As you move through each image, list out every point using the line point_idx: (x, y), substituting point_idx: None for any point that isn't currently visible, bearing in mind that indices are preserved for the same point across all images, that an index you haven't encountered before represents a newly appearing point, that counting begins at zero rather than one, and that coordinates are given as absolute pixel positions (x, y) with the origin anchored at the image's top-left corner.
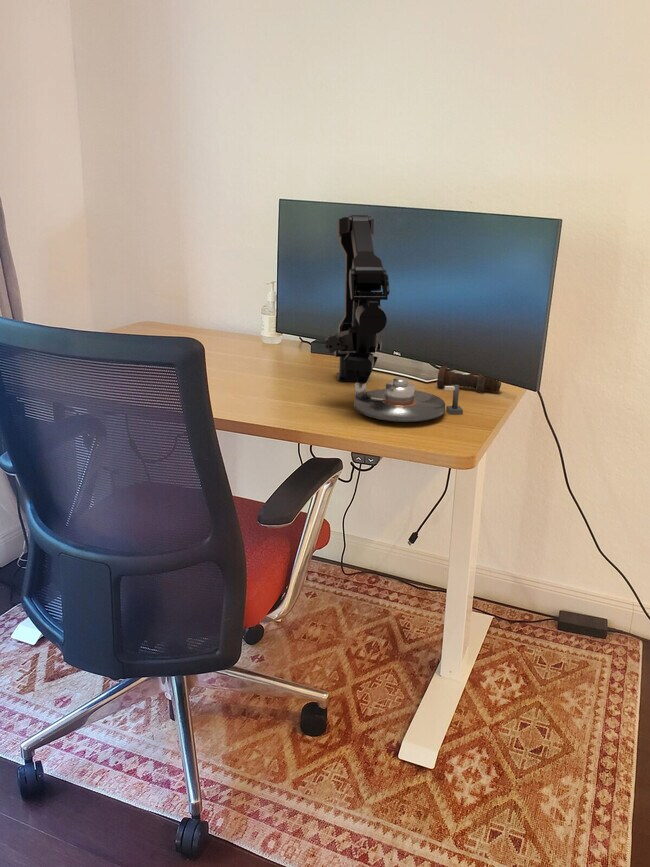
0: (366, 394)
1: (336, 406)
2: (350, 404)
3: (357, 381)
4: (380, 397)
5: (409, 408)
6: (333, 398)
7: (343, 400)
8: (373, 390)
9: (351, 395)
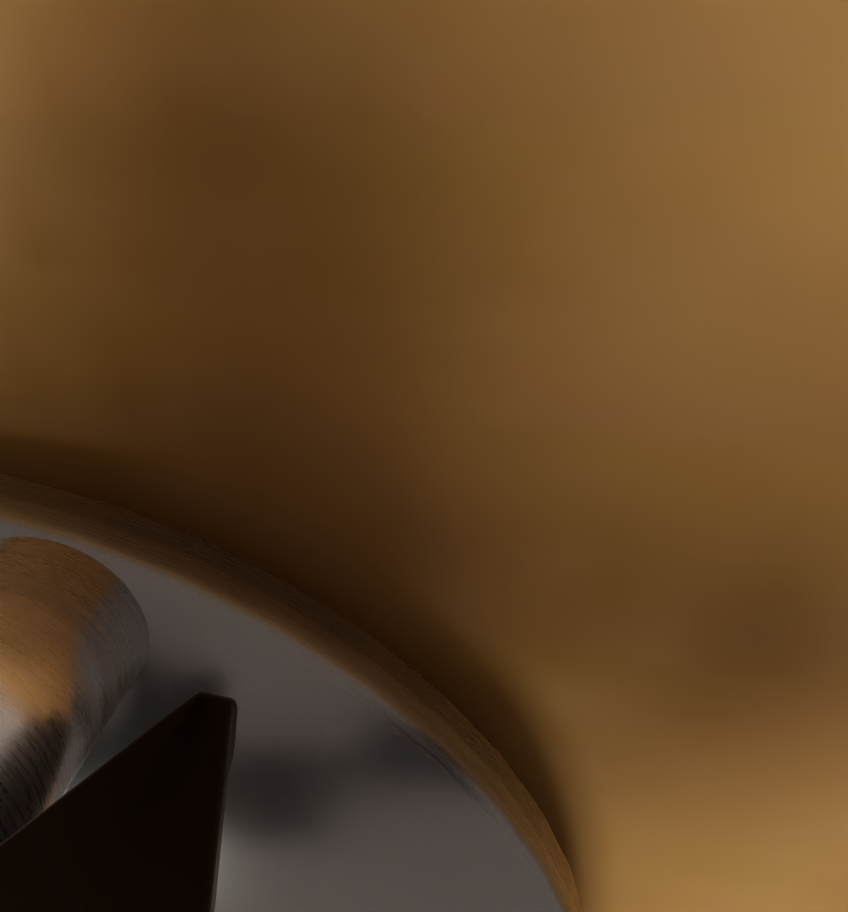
0: None
1: (117, 127)
2: (281, 387)
3: (44, 814)
4: None
5: None
6: (642, 67)
7: (502, 279)
8: (478, 841)
9: (814, 441)
